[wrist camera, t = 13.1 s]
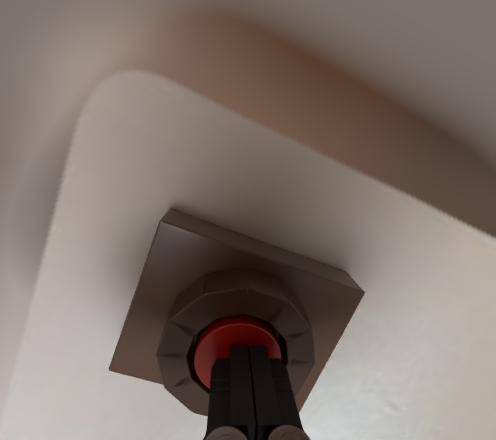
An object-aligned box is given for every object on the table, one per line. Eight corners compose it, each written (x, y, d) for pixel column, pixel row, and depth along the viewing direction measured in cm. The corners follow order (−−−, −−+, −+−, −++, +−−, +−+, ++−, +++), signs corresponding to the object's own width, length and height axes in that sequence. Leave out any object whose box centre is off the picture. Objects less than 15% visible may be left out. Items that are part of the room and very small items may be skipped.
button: (187, 354, 14) (181, 384, 12) (213, 290, 13) (212, 312, 12) (257, 374, 15) (261, 405, 13) (286, 314, 14) (295, 338, 12)
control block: (123, 340, 16) (91, 403, 12) (169, 207, 14) (149, 233, 11) (287, 386, 18) (304, 454, 14) (347, 272, 16) (385, 314, 12)
